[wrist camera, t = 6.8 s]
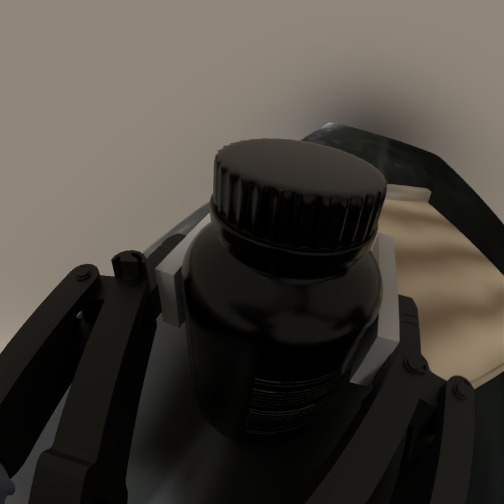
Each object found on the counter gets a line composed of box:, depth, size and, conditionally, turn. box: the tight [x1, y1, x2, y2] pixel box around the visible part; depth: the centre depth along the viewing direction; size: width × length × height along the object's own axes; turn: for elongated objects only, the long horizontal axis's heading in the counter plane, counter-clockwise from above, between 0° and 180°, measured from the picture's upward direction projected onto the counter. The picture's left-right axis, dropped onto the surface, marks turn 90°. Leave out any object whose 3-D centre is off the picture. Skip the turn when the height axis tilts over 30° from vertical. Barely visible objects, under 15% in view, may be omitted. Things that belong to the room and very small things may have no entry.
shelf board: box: [371, 184, 504, 389], centre depth 23 cm, size 23×16×4 cm
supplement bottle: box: [181, 139, 387, 446], centre depth 11 cm, size 7×7×12 cm
